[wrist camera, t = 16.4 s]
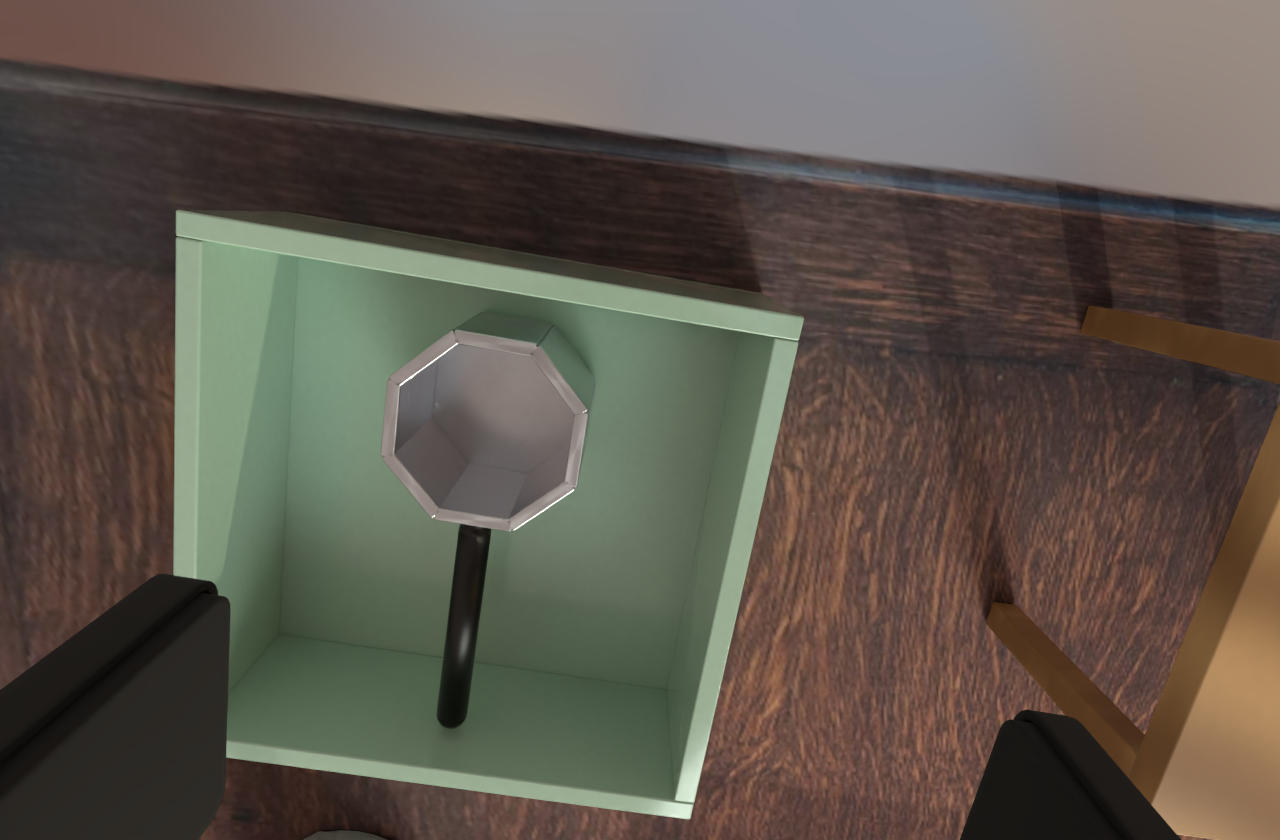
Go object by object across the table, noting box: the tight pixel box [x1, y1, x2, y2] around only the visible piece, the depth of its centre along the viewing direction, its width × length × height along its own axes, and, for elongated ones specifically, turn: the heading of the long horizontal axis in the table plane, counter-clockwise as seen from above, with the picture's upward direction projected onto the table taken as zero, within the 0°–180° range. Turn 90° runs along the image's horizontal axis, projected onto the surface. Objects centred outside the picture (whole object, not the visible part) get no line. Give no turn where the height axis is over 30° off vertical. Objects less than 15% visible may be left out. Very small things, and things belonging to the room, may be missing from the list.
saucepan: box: [380, 311, 596, 729], centre depth 30 cm, size 16×7×6 cm, turn 170°
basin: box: [173, 210, 804, 819], centre depth 29 cm, size 20×20×8 cm
